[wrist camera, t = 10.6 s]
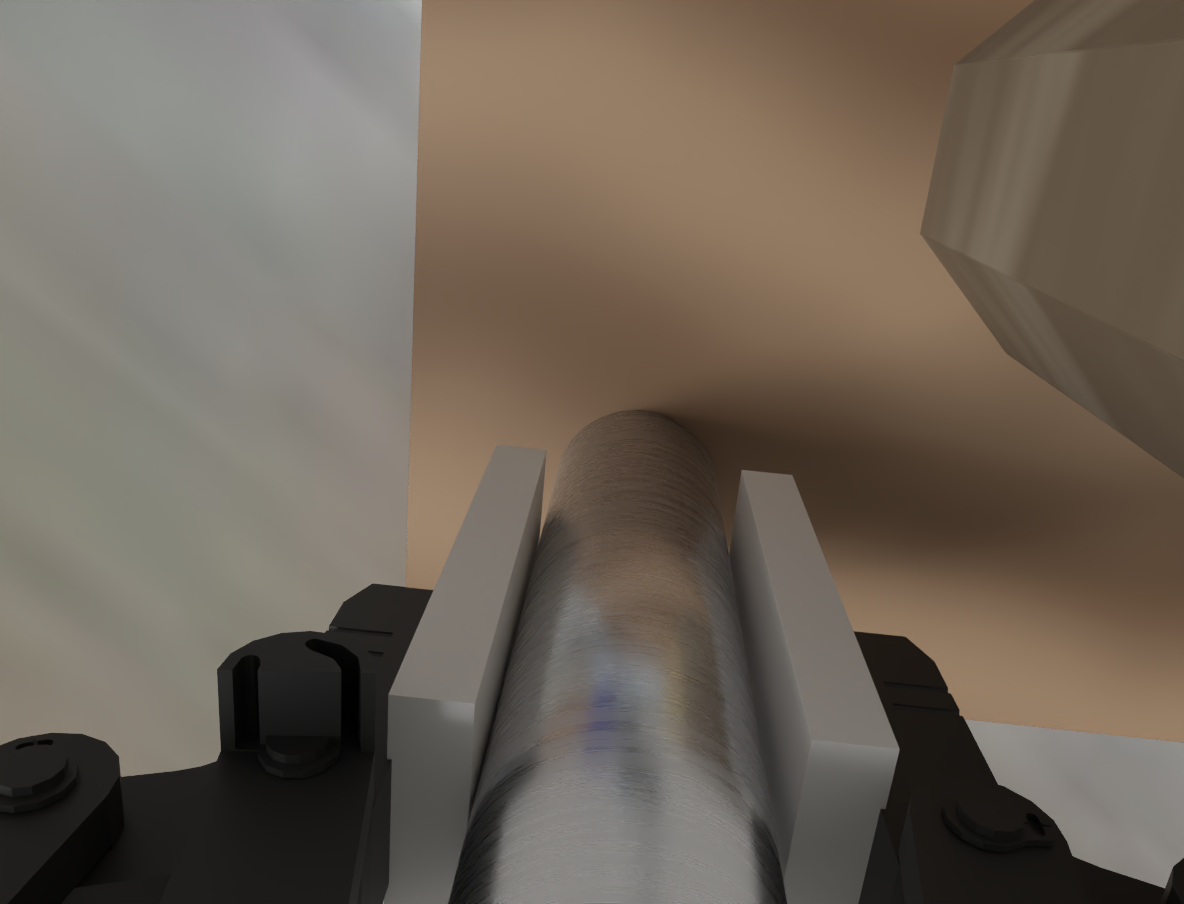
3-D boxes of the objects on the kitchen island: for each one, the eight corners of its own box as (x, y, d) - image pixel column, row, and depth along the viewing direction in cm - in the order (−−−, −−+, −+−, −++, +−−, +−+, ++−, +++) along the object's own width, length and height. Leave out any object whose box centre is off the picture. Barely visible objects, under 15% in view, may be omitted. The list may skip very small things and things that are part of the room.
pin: (562, 402, 17) (374, 1041, 5) (726, 418, 17) (883, 1102, 5) (550, 550, 18) (372, 1353, 6) (705, 566, 18) (801, 1407, 6)
